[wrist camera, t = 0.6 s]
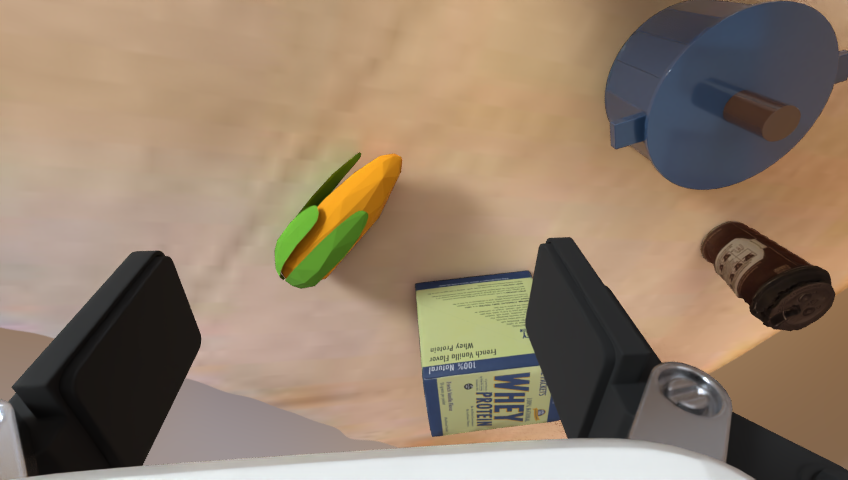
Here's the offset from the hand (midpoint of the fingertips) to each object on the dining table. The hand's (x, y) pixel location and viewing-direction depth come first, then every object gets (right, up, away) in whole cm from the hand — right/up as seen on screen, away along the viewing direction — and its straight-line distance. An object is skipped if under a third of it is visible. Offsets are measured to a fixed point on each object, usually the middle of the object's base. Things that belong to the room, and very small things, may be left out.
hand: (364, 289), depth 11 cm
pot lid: (+28, +13, +25) cm, 40 cm away
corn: (-8, +5, +37) cm, 39 cm away
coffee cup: (+41, +1, +45) cm, 61 cm away
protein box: (+8, -8, +48) cm, 49 cm away
